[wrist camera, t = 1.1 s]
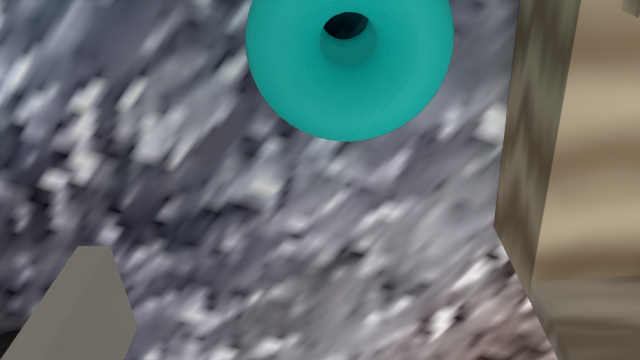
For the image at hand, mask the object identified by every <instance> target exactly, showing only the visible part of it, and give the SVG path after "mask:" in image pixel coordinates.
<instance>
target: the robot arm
mask: <svg viewBox="0 0 640 360" xmlns="http://www.w3.org/2000/svg"><path fill="white" fill-rule="evenodd" d="M137 328H138V327H137V324H136V321H135V318H134V315H133V312H132V309H131V306H130V303H129V300H128V298H127V295H126V292H125V289H124V286H123V283H122V280H121V277H120V274H119V271H118V268H117V265H116V263H115V260H114V257H113V254H112V251H111V248H110V246H78V247H77V249H76V250H75V251H74V253H73V254H72V256H71V257H70V259H69V260H68V262H67V263H66V265H65V266H64V268H63V269H62V270H61V272H60V273H59V275H58V276H57V278H56V279H55V281H54V282H53V284H52V285H51V287H50V288H49V290H48V291H47V292H46V294H45V295H44V297H43V298H42V300H41V301H40V303H39V304H38V306H37V307H36V309H35V310H34V311H33V313H32V314H31V316H30V317H29V319H28V320H27V322H26V323H25V325H24V326H23V328H22V329H21V330H20V331H18V332H12V333H8V334H4V335H1V336H0V360H124V358H125V356H126V353H127V351H128V349H129V346H130V344H131V342H132V340H133V337H134V335H135V333H136V330H137Z"/></svg>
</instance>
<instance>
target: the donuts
mask: <svg viewBox="0 0 640 360" xmlns="http://www.w3.org/2000/svg"><path fill="white" fill-rule="evenodd" d="M343 12H356V13H360V14H362V15H364V16H365V17H367V18H368V22H367V25H366V27H365V29H364V30H363V31H362V32H361V33H360V34H359V35H357V36H355V37H353V38H350V39H337V38H334V37H332V36H331V35H329V34H328V33H327V32H326V31H325V29H324V28H323V27H324V25H325V23H326V22H327V21H328V20H329V19H330V18H332V17H333V16H335V15H337V14H340V13H343ZM453 42H454V24H453V16H452V11H451V7H450V3H449V0H253V1H252V4H251V7H250V10H249V14H248V19H247V25H246V53H247V59H248V63H249V67H250V70H251V73H252V76H253V79H254V81H255V83H256V85H257V87H258V89H259V91H260V93H261V94H262V96H263V97H264V99H265V100H266V102H267V103H268V104H269V105H270V107H271V108H272V109H273V110H274V111H275V112H276V113H277V114H278V115H279V116H280V117H281V118H283V119H284V120H285V121H287V122H288V123H289V124H291V125H292V126H294V127H296V128H297V129H299V130H301V131H303V132H305V133H308V134H310V135H313V136H316V137H319V138H323V139H327V140H334V141H360V140H367V139H371V138H375V137H379V136H382V135H384V134H387V133H389V132H392V131H394V130H396V129H398V128H399V127H401V126H403V125H404V124H406V123H407V122H409V121H410V120H412V119H413V118H414V117H415V116H416V115H418V114H419V113H420V112H421V111H422V110H423V109H424V108H425V107H426V106H427V104H428V103H429V102H430V101H431V100H432V98H433V97H434V96H435V94H436V93H437V91H438V89H439V88H440V86H441V84H442V82H443V80H444V78H445V76H446V73H447V71H448V68H449V64H450V61H451V56H452V51H453Z"/></svg>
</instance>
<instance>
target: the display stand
mask: <svg viewBox="0 0 640 360" xmlns="http://www.w3.org/2000/svg"><path fill="white" fill-rule="evenodd" d="M494 228H495V230H496V232H497V235H498V237H499V239H500V241H501V243H502V245H503V247H504V249H505V251H506V253H507V255H508V257H509V259H510V261H511V263H512V265H513V267H514V270H515V272H516V274H517V276H518V278H519V280H520V282H521V284H522V286H523V288H524V290H525V292H526V294H527V296H528V298H529V300H530V302H531V305H532V307H533V309H534V311H535V313H536V315H537V317H538V319H539V321H540V323H541V325H542V327H543V329H544V331H545V333H546V335H547V337H548V340H549V342H550V344H551V346H552V348H553V350H554V352H555V354H556V356H557V358H558V360H640V0H520V6H519V14H518V23H517V31H516V40H515V49H514V57H513V66H512V74H511V83H510V92H509V100H508V109H507V117H506V126H505V135H504V143H503V152H502V160H501V169H500V178H499V186H498V195H497V203H496V212H495V220H494Z"/></svg>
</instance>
